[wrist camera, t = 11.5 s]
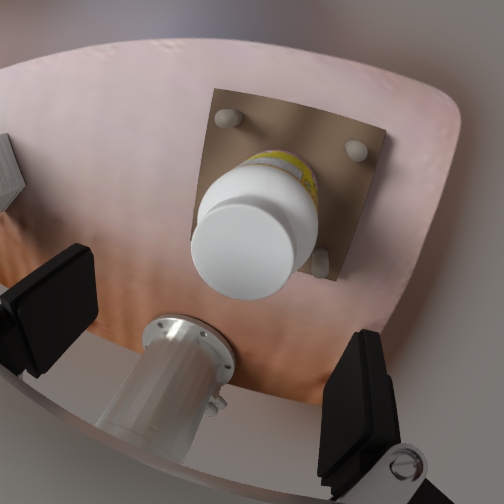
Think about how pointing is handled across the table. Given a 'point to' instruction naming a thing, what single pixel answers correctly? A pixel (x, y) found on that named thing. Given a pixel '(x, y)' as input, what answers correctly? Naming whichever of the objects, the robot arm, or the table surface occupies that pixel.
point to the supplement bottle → (256, 225)
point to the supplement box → (8, 174)
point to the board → (308, 149)
